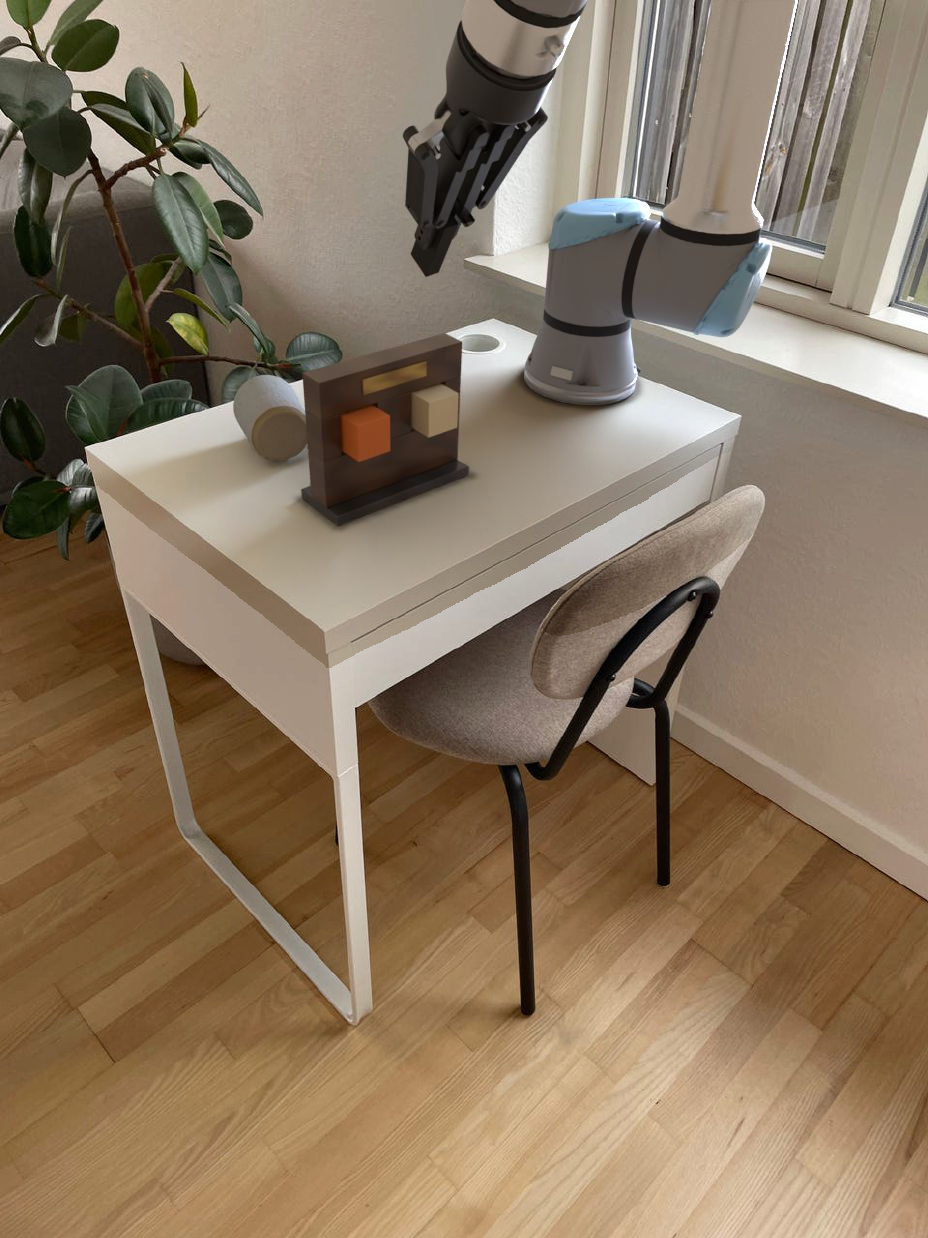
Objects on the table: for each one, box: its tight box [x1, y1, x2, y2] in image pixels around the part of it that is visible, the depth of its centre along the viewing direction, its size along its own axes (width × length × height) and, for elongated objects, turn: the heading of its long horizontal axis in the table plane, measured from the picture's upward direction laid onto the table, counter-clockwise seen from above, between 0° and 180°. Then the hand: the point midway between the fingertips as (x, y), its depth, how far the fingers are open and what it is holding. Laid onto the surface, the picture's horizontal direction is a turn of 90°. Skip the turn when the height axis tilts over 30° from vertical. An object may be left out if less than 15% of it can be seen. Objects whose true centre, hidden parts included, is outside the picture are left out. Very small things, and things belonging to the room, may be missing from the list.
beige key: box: [411, 383, 459, 438], centre depth 100 cm, size 4×4×4 cm
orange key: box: [339, 404, 390, 462], centre depth 95 cm, size 4×4×4 cm
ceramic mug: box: [232, 374, 308, 462], centre depth 108 cm, size 11×8×8 cm
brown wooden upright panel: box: [300, 332, 470, 527], centre depth 99 cm, size 18×7×15 cm, turn 130°
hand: (424, 262), depth 87 cm, fingers closed
